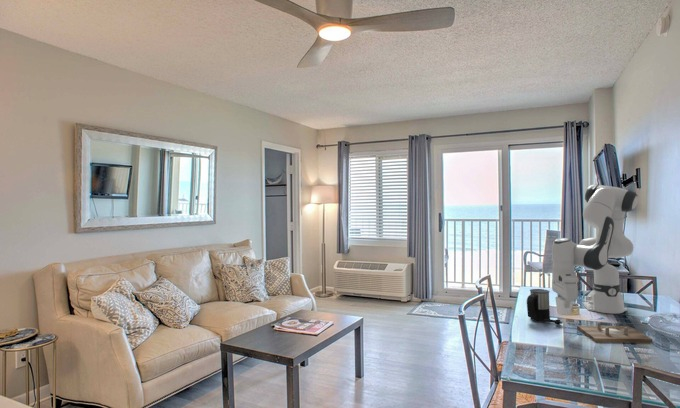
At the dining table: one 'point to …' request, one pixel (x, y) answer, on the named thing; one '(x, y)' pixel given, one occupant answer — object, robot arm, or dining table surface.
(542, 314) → the milk frother
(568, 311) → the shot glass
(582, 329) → the pin board
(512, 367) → the dining table surface
